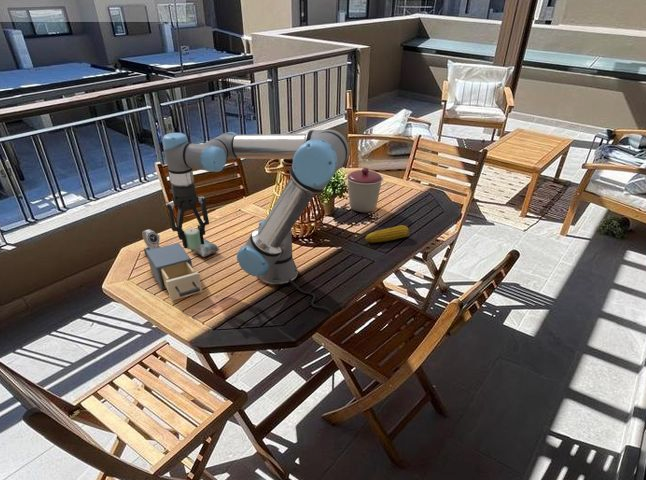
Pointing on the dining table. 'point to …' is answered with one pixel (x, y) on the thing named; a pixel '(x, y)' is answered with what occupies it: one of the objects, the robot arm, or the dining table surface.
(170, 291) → the drawer
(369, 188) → the canister
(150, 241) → the watch
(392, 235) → the food
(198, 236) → the votive
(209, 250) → the packaged food
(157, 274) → the cabinet
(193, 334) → the dining table surface
